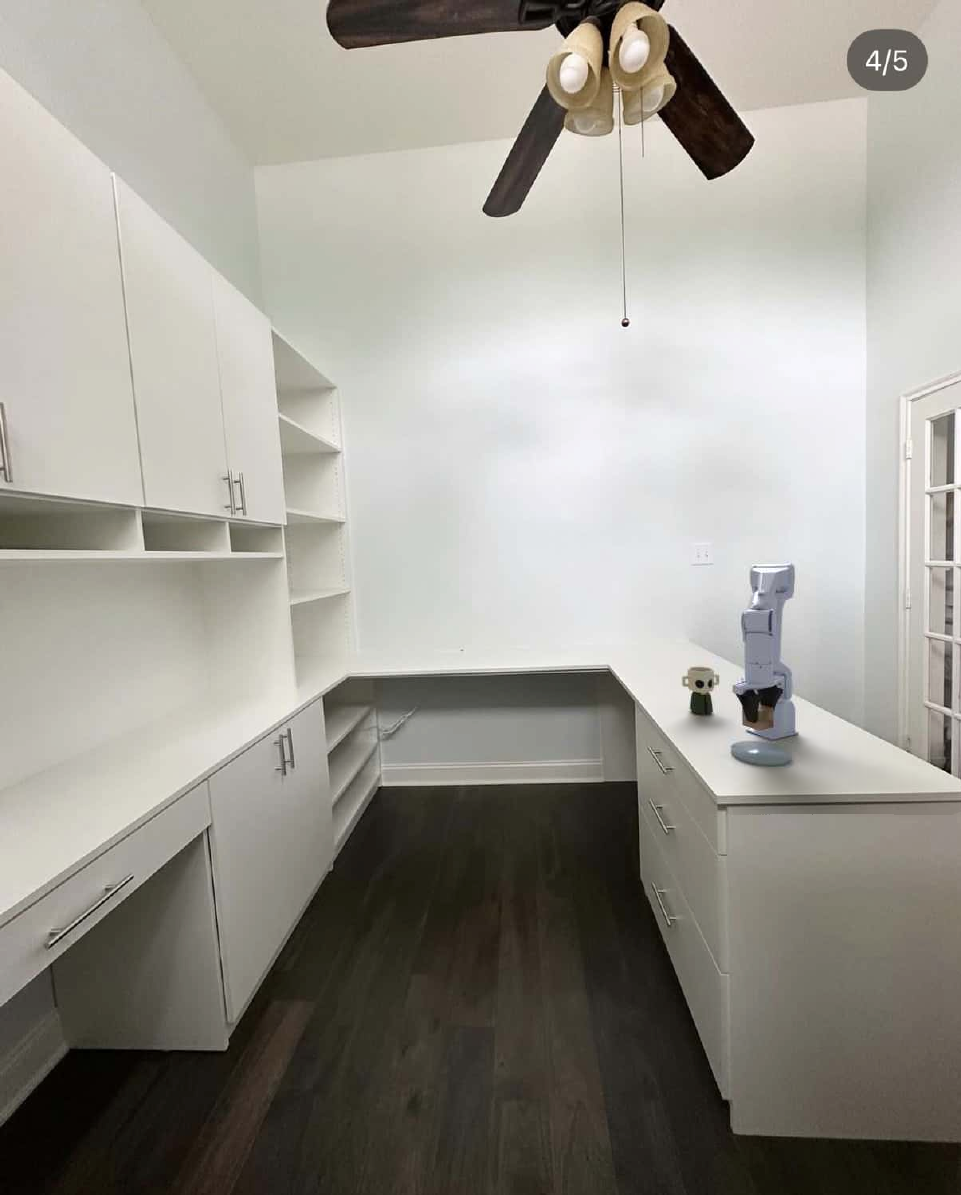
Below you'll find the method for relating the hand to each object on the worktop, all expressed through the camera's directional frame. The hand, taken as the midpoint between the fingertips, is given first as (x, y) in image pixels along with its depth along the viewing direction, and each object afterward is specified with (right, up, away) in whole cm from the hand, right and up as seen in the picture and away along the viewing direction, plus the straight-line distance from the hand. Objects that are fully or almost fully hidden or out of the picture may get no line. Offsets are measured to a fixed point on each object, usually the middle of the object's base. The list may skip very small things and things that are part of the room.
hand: (759, 720), depth 115 cm
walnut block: (0, -2, 0) cm, 2 cm away
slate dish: (+1, -8, +1) cm, 8 cm away
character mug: (+1, -6, +33) cm, 33 cm away
